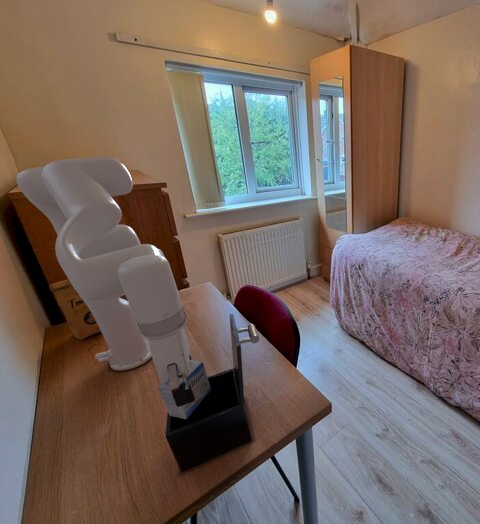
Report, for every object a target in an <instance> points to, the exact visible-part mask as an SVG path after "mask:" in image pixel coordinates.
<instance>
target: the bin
mask: <svg viewBox="0 0 480 524" xmlns="http://www.w3.org/2000/svg"><path fill="white" fill-rule="evenodd" d="M207 378H208V381H209V384H210V387H211V391H210V392H209V393H208V394H207V395H206V397H205V398H204V399H203V400H202V401H201V403H200V404H199V405H198V406H197V408H196V409H195V410H194V411H193V412H192V414H191V415H190V416H189V417H188V419H182V418H178V417H174V416H170V415H169V413H168V411H167V414H166V425H165V426H166V427H165V435H164V436H165V439H166V441H167V444H168V446H169V448H170V450H171V452H172V454H173V457H174V459H175V461H176V464H177V466H178V468H179V471H180V472H181V474H182V473H184V472H186V471H189V470H191V469H194V468H196V467H197V466H200V465H202V464H205V463H206V462H209V461H211V460H213V459H215V458H218V457H220V456H222V455H224V454H227V453H229V452H231V451H233V450H236V449H237V448H240V447H242V446H245V445H246V444H250V443H251V442H252V441H253V440H252V435H251V434H252V433H251V429H250V424H249V419H248V414H247V410H246V404H245V403H244V404H242V405H241V404H240V399H239V393H238V388H237V383H236V377H235V372H234V367H232V368H230V369H226V370H224V371H221V372H219V373H215V374H212V375H209V376H207Z"/></svg>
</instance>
